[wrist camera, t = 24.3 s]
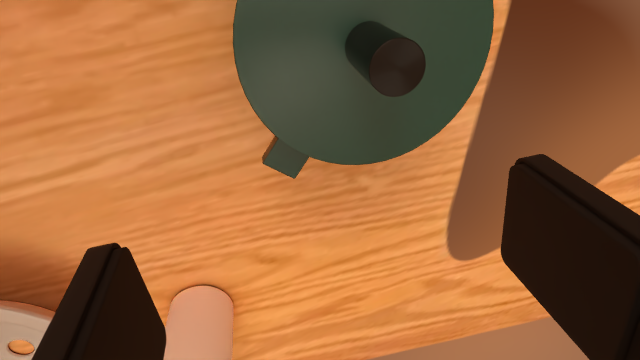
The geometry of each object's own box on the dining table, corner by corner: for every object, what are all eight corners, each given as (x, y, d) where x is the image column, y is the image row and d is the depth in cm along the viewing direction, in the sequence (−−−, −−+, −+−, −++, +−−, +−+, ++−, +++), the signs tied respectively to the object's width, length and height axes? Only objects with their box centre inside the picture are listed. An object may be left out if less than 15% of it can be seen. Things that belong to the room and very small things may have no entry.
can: (232, 281, 43) (229, 385, 32) (234, 326, 46) (231, 435, 36) (167, 284, 42) (141, 394, 31) (173, 330, 45) (151, 444, 34)
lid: (187, 87, 23) (171, 128, 18) (326, -188, 19) (360, -244, 13) (386, 190, 29) (419, 245, 23) (532, -2, 24) (615, 10, 19)
